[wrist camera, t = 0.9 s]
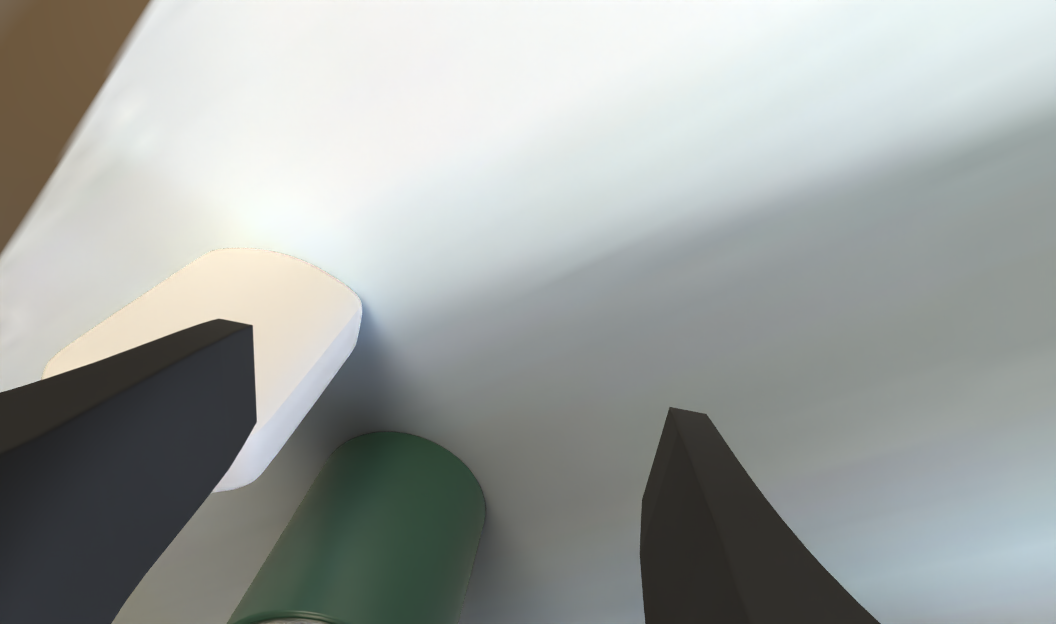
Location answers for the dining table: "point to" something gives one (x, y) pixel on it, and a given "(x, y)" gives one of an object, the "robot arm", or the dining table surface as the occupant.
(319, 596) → the green tin can
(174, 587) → the dining table surface
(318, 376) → the eye dropper bottle
